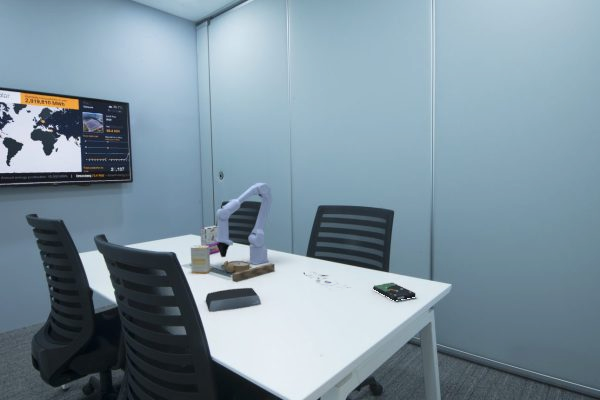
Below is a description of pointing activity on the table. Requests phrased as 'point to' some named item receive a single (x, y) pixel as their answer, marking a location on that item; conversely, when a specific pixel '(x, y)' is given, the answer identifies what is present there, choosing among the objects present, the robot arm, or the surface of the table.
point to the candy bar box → (209, 238)
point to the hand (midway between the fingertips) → (223, 256)
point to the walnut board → (253, 272)
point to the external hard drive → (232, 299)
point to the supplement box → (200, 259)
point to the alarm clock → (235, 266)
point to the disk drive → (394, 291)
